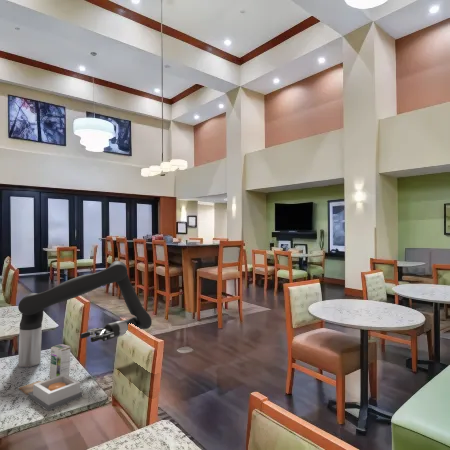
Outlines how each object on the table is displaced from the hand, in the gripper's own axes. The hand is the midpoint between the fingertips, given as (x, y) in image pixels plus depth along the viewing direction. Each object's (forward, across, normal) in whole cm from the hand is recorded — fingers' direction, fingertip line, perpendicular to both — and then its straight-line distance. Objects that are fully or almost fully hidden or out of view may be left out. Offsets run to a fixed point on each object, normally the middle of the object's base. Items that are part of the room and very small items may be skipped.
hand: (85, 338), depth 151 cm
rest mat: (+22, -1, +15) cm, 27 cm away
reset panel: (+20, +13, +15) cm, 28 cm away
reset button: (+20, +14, +13) cm, 27 cm away
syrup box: (+12, 0, +15) cm, 19 cm away
